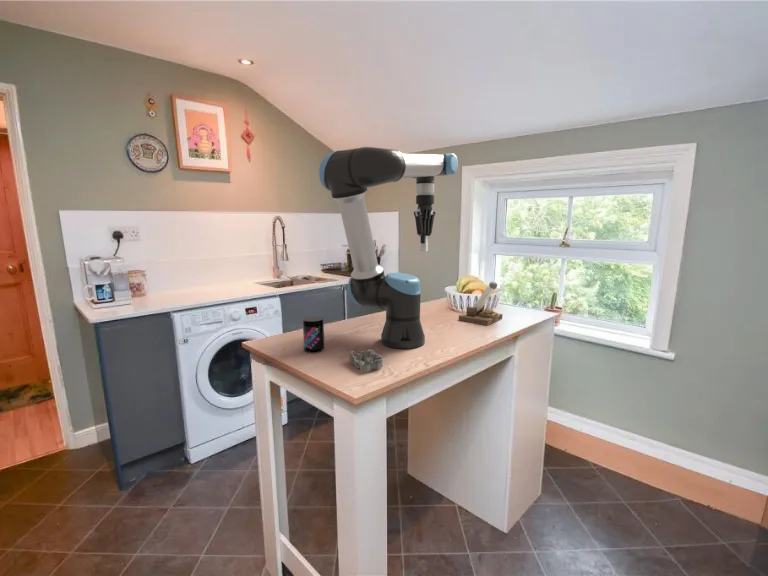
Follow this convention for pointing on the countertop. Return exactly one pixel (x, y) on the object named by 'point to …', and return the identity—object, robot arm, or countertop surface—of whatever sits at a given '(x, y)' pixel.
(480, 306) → the lever
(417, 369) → the countertop surface
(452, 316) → the countertop surface
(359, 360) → the egg carton
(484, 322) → the base
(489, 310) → the walnut
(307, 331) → the supplement container
